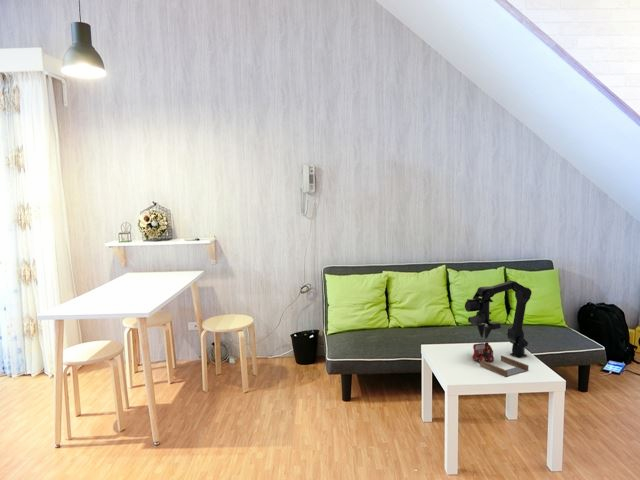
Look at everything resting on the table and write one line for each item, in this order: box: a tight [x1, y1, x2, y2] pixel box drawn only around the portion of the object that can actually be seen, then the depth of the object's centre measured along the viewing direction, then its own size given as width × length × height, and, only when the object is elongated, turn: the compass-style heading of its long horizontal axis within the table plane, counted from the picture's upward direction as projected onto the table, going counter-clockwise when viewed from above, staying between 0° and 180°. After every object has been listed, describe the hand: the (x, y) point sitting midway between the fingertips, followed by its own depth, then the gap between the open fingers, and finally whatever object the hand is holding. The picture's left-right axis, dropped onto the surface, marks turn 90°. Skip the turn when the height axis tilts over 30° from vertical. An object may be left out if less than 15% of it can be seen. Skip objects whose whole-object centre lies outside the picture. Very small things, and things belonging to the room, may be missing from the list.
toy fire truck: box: [472, 341, 495, 363], centre depth 248 cm, size 7×12×10 cm, turn 108°
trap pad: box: [506, 367, 527, 377], centre depth 232 cm, size 13×6×1 cm, turn 116°
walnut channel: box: [479, 355, 529, 378], centre depth 237 cm, size 16×17×3 cm
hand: (483, 337), depth 248 cm, fingers open, 3 cm apart
